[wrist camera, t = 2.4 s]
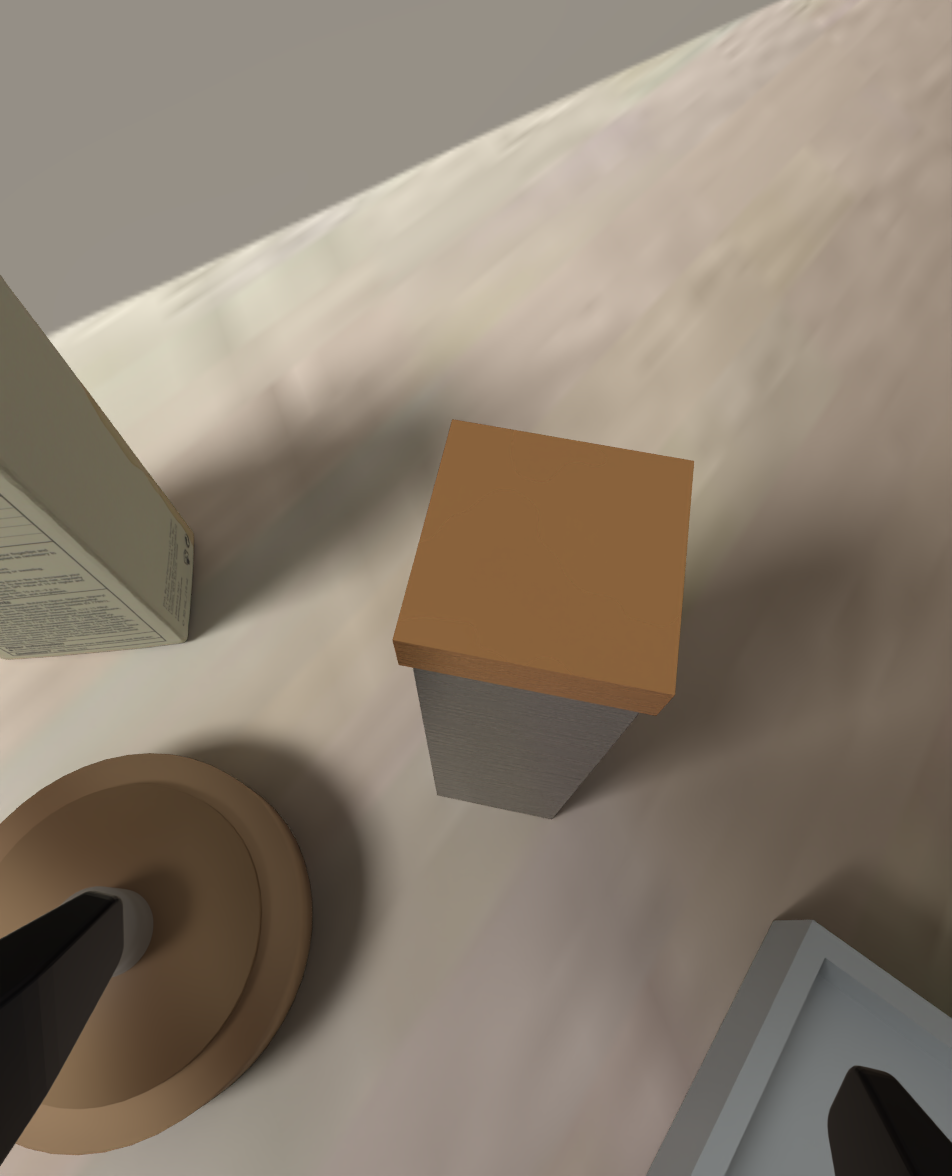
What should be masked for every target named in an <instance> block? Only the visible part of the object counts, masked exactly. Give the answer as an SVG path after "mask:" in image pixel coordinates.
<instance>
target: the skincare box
mask: <svg viewBox="0 0 952 1176" xmlns="http://www.w3.org/2000/svg"><path fill="white" fill-rule="evenodd" d="M193 549H194V534H193V532H192V530H191V529H190V528H189V526H188V525H187V524H186V523H185V521H184V520H183V518H182V517H181V516H180V514H179V513H178V512H177V510H176V509H175V508H174V506H173V505H172V504H171V502H170V501H169V500H168V498H167V497H166V496H165V494H164V493H163V492H162V490H161V489H160V488H159V486H158V485H157V483H156V482H155V481H154V479H153V478H152V477H151V475H150V474H149V473H148V472H147V470H146V469H145V467H144V466H143V465H142V463H141V462H140V461H139V459H138V458H137V457H136V455H135V454H134V453H133V451H132V450H131V449H130V447H129V446H128V445H127V443H126V442H125V441H124V439H123V438H122V436H121V435H120V434H119V432H118V431H117V430H116V428H115V427H114V426H113V424H112V423H111V422H110V420H109V419H108V418H107V416H106V415H105V414H104V412H103V411H102V410H101V408H100V407H99V406H98V404H97V403H96V402H95V400H94V399H93V398H92V396H91V395H90V393H89V392H88V391H87V389H86V388H85V387H84V386H83V384H82V383H81V382H80V380H79V379H78V378H77V377H76V375H75V374H74V373H73V371H72V370H71V368H70V367H69V366H68V364H67V363H66V362H65V360H64V359H63V358H62V356H61V355H60V354H59V352H58V351H57V350H56V348H55V347H54V346H53V344H52V343H51V342H50V340H49V339H48V338H47V336H46V335H45V334H44V332H43V331H42V330H41V328H40V327H39V326H38V324H37V323H36V322H35V321H34V319H33V318H32V317H31V315H30V314H29V313H28V311H27V310H26V308H25V307H24V306H23V305H22V303H21V302H20V301H19V299H18V298H17V297H16V296H15V294H14V293H13V292H12V290H11V289H10V288H9V286H8V285H7V284H6V282H5V281H4V279H3V278H2V276H1V275H0V658H2V659H6V660H11V659H25V658H38V657H51V656H62V655H74V654H83V653H94V652H105V651H116V650H126V649H137V648H146V647H153V646H161V645H169V644H177V643H183V642H185V641H186V640H187V638H188V624H189V615H190V603H191V589H192V573H193Z"/></svg>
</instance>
